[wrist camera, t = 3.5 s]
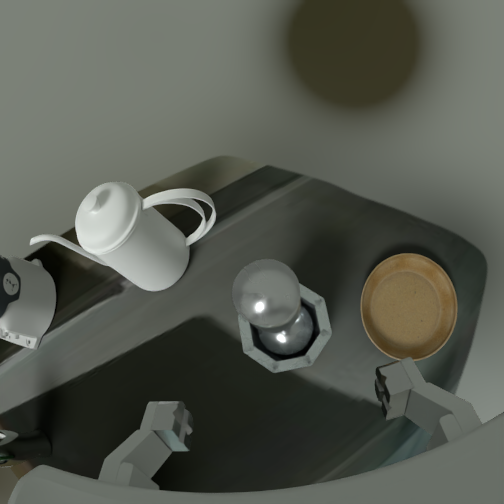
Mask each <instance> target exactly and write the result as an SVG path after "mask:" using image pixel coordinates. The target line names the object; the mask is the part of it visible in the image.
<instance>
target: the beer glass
mask: <svg viewBox="0 0 504 504" xmlns="http://www.w3.org/2000/svg"><path fill="white" fill-rule="evenodd" d="M51 453H52V448H51V444H50V441H49V439H48V437H47V436H46V434H45V433H44V432H43V431H41V430H33V431H31V432H26V433H22V432H15V431H9V430H0V467H9V466H15V465H18V464H21V463H23V462H25V461H28V460H30V459H33V458H48V457H50V455H51Z"/></svg>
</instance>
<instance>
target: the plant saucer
mask: <svg viewBox="0 0 504 504" xmlns="http://www.w3.org/2000/svg"><path fill="white" fill-rule="evenodd" d="M361 317H362V322H363V325H364V328H365V330H366V333H367V335H368V336H369V338H370V339H371V341H372V342H373V343H374V345H375V346H376V347H377V348H378V349H379V350H380V351H382V352H383V353H384V354H386V355H387V356H389V357H391V358H394V359H397V360H402V359H405V358H408V357H411V358H412V359H413V361H418V360H422V359H425V358H427V357H429V356H431V355H433V354H435V353H436V352H437V351H438V350H440V349H441V348H442V347H443V346H444V344H445V343H446V342H447V340H448V339H449V337H450V336H451V334H452V332H453V329H454V326H455V323H456V318H457V298H456V293H455V289H454V287H453V284H452V282H451V280H450V278H449V277H448V275H447V274H446V272H445V271H444V270H443V269H442V268H441V267H440V266H439V265H438V264H437V263H436V262H434V261H432V260H431V259H429V258H427V257H425V256H422V255H419V254H413V253H402V254H398V255H394V256H391V257H389V258H387V259H386V260H384V261H382V262H381V263H380V264H378V265H377V266H376V267H375V268H374V270H373V271H372V272H371V274H370V275H369V277H368V278H367V280H366V282H365V285H364V288H363V291H362V296H361Z"/></svg>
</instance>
